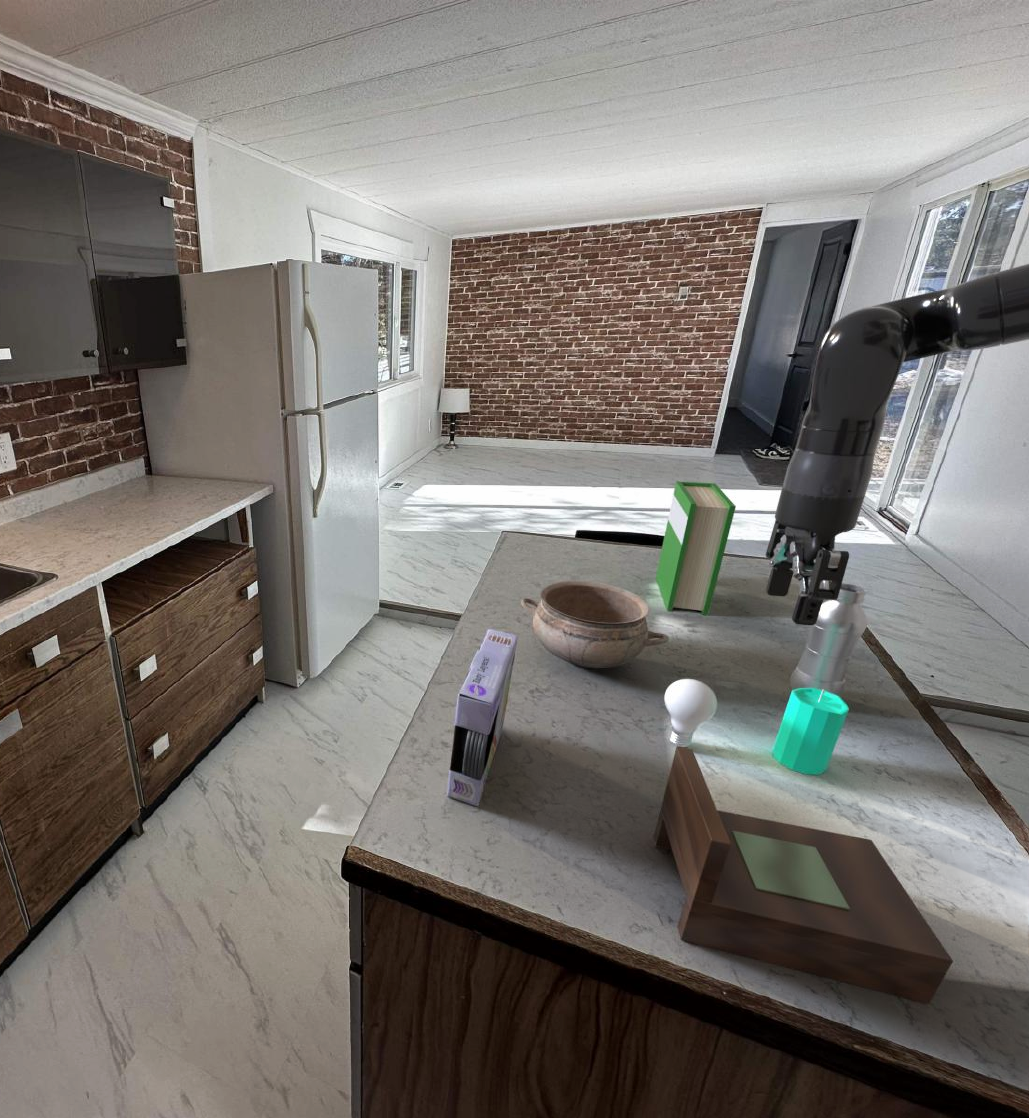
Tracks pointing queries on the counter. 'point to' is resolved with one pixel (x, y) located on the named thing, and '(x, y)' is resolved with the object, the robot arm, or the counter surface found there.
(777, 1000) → the counter surface
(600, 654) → the cooking pot
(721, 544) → the hardback book
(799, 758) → the candle
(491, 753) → the cake pan box
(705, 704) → the lightbulb
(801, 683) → the plastic bottle
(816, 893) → the shelf
